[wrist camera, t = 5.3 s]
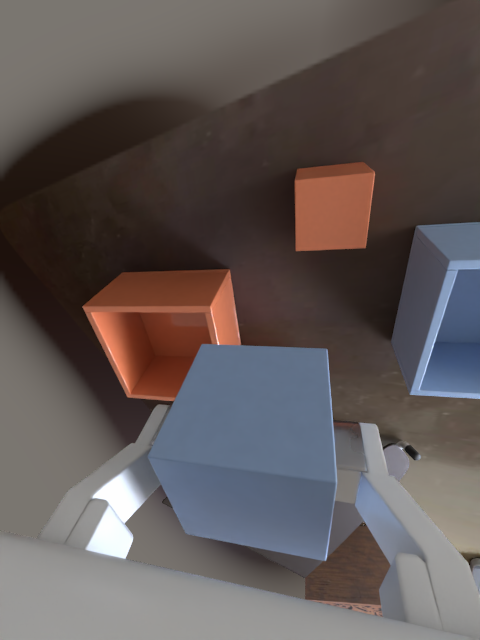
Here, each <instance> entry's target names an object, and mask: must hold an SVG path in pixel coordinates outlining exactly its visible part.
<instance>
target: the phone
mask: <svg viewBox="0 0 480 640" xmlns="http://www.w3.org/2000/svg"><path fill="white" fill-rule="evenodd" d="M470 569H471V572H472V575H473V578H474V581H475V583H476V586H477V589H478V592H479V595H480V559H479V558H475V559H472V560H471V564H470Z"/></svg>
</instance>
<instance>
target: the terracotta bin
mask: <svg viewBox="0 0 480 640" xmlns="http://www.w3.org/2000/svg"><path fill="white" fill-rule="evenodd" d="M82 307H83V309H84V311H85V313H86V315H87V317H88V319H89V321H90V323H91V325H92V327H93V329H94V331H95V333H96V335H97V337H98V339H99V341H100V343H101V345H102V347H103V349H104V351H105V353H106V355H107V357H108V359H109V361H110V363H111V365H112V367H113V369H114V371H115V373H116V375H117V377H118V379H119V381H120V383H121V385H122V387H123V389H124V391H125V393H126V395H127V397H128V398H140V399H153V400H166V401H174V400H175V398H176V396H177V394H178V392H179V390H180V388H181V386H182V384H183V382H184V380H185V378H186V376H187V373H188V371H189V369H190V367H191V365H192V363H193V361H194V359H195V357H196V355H197V353H198V351H199V349H200V347H201V345H202V344H218V345H241V340H240V333H239V327H238V320H237V314H236V307H235V301H234V294H233V287H232V281H231V274H230V269H213V270H182V271H151V272H122V273H121V274H120V275H119V276H118V277H116V278H115V279H114V280H113V281H112V282H111V283H109V284H108V285H107V286H106V287H105V288H103V289H102V290H101V291H100V292H99V293H98V294H96V295H95V296H94V297H93V298H92V299H91V300H89V301H88V302H87V303H86V304H85V305H83V306H82Z"/></svg>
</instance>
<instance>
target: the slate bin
mask: <svg viewBox="0 0 480 640" xmlns="http://www.w3.org/2000/svg"><path fill="white" fill-rule="evenodd" d="M391 344H392V347H393V349H394V352H395V355H396V358H397V360H398V363H399V366H400V369H401V372H402V374H403V377H404V380H405V383H406V385H407V388H408V391H409V394H410V395H427V396H443V397H460V398H477V399H480V222H470V223H453V224H436V225H419V226H416V228H415V233H414V237H413V242H412V247H411V251H410V256H409V261H408V265H407V270H406V274H405V279H404V284H403V288H402V293H401V298H400V302H399V307H398V312H397V316H396V321H395V326H394V330H393V335H392V340H391Z"/></svg>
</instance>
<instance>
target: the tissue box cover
mask: <svg viewBox="0 0 480 640" xmlns="http://www.w3.org/2000/svg"><path fill="white" fill-rule="evenodd" d="M390 566H391V565H390V563H389V561H388V560H387V558H386V556H385V555H384V553H383V552H382V550H381V548H380V547H379V545H378V543H377V542H376V540H375V538H374V537H373V535H372V533H371V532H370V530H369V528H368V527H367V526H358V527H357V528H356V529H355V530H354V531H353V532H352V533H351V534H350V535H349V536H348V537H347V538H346V539H345V540H344V541H343V542H342V543H341V544H340V545H339V546H338V547H337V548H336V549H335V550H334V551H333V552H332V553H331V554H330V555H329V556H328V557H327V559H326V561H323V562H322V563H321V564H320V565H319V566H317V567H316V568H315V569H314V570H313V571H312V572H311V573H310V574H309V575H308V576H307V577H306V578H305V600H309V601H314V602H318V603H323V604H327V605H332V606H336V607H340V608H345V609H349V610H354V611H358V612H362V613H367V614H371V615H376V616H380V617H383V616H382V608H381V601H380V594H379V588H380V586H381V584H382V582H383V580H384V578H385V576H386V574H387V572H388V570H389V568H390Z"/></svg>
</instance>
